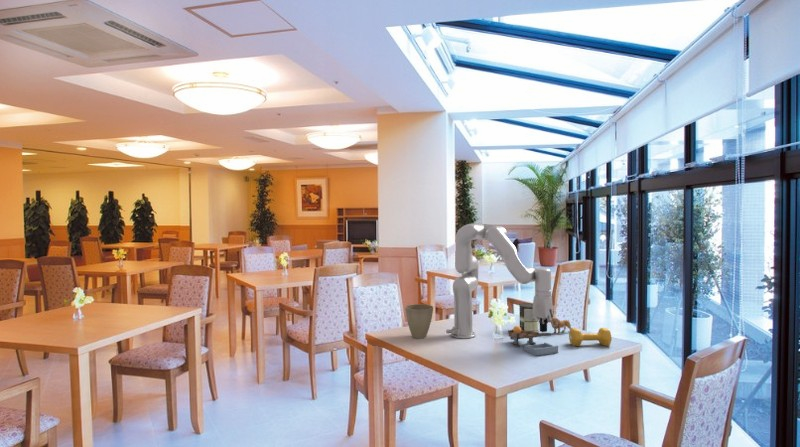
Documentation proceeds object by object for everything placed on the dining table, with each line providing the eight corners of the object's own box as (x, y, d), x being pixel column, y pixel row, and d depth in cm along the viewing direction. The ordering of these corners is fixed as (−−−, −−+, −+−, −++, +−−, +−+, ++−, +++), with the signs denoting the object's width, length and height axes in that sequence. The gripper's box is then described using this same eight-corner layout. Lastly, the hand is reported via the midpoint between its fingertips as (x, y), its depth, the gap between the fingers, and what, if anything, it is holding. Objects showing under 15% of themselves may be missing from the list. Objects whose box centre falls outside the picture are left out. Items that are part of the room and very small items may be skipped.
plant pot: (412, 342, 241) (412, 310, 241) (400, 335, 255) (400, 305, 255) (438, 338, 247) (438, 308, 247) (425, 332, 261) (425, 303, 261)
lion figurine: (556, 336, 250) (556, 318, 250) (548, 333, 255) (548, 317, 254) (574, 332, 258) (574, 315, 258) (566, 329, 262) (566, 313, 262)
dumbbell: (605, 342, 237) (605, 326, 237) (613, 347, 228) (613, 330, 228) (567, 342, 238) (567, 326, 238) (573, 347, 229) (573, 331, 228)
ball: (516, 335, 236) (516, 326, 237) (511, 333, 240) (511, 325, 240) (523, 334, 238) (522, 326, 238) (518, 332, 242) (517, 324, 242)
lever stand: (511, 345, 234) (511, 333, 234) (530, 342, 239) (530, 331, 239) (516, 347, 230) (516, 335, 230) (535, 344, 235) (535, 333, 235)
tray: (524, 350, 225) (524, 343, 225) (544, 347, 229) (544, 340, 229) (537, 356, 216) (537, 349, 216) (558, 352, 220) (558, 346, 220)
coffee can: (515, 330, 262) (515, 305, 262) (525, 327, 269) (525, 302, 269) (532, 333, 255) (532, 307, 254) (542, 330, 262) (542, 304, 261)
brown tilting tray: (509, 339, 240) (508, 330, 240) (531, 336, 245) (530, 327, 246) (527, 341, 226) (526, 331, 227) (551, 338, 231) (550, 328, 232)
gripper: (526, 292, 237) (527, 329, 237) (547, 296, 223) (547, 335, 223) (539, 291, 239) (539, 327, 240) (559, 295, 226) (560, 334, 226)
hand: (543, 331), depth 232 cm, fingers closed
